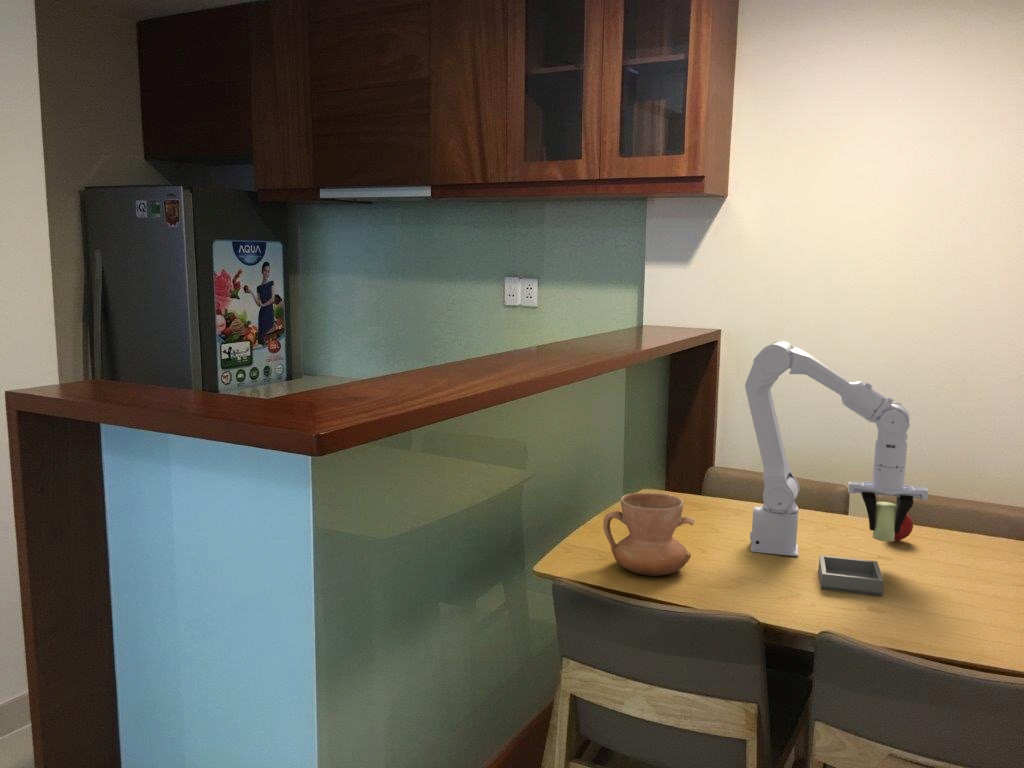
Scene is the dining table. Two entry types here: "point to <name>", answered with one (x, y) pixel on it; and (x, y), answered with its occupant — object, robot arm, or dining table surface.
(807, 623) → the dining table surface
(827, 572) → the tray
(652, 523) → the ceramic jug
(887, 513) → the pale green cylinder
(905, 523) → the onion
